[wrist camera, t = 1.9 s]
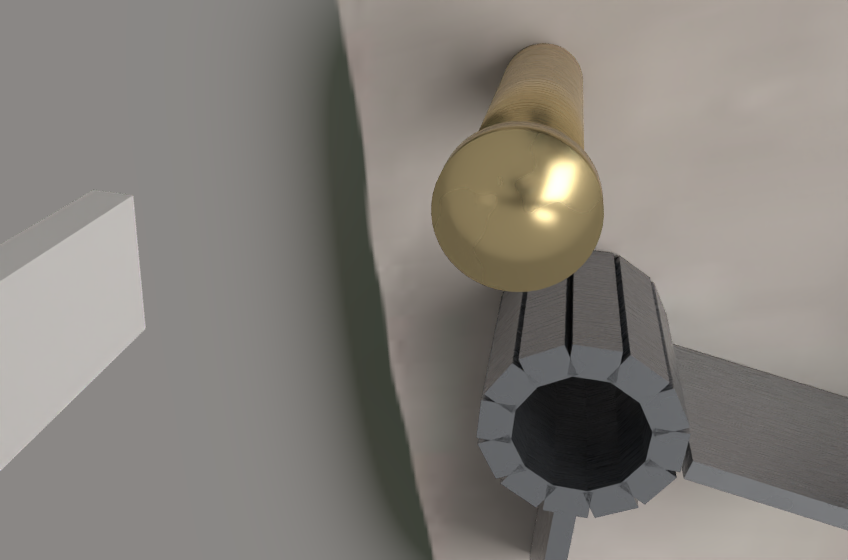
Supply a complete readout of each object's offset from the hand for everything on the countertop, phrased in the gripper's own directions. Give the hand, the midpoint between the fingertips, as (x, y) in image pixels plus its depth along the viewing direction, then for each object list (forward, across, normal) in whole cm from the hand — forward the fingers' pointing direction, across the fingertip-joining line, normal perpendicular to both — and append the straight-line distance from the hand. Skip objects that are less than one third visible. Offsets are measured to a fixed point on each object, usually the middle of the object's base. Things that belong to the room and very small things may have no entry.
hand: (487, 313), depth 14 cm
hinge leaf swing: (+18, +12, -11) cm, 25 cm away
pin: (+18, 0, 0) cm, 18 cm away
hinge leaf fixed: (+19, +3, -15) cm, 24 cm away
